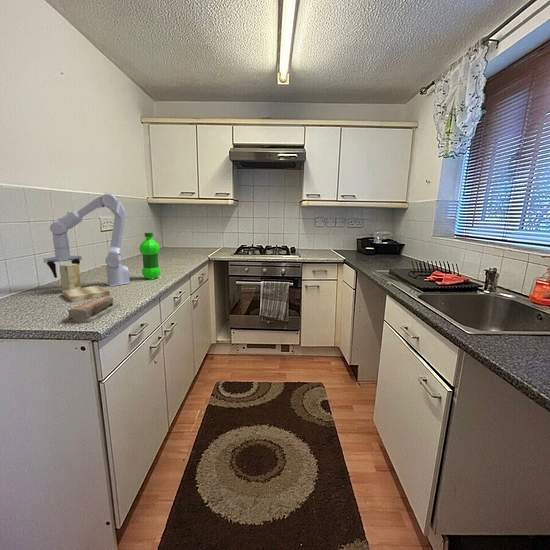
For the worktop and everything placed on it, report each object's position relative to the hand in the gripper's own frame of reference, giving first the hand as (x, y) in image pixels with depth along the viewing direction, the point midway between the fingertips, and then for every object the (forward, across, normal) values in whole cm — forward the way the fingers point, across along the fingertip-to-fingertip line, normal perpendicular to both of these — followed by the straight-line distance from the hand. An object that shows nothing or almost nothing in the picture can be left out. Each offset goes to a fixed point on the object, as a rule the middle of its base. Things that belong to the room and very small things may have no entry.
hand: (65, 276), depth 140 cm
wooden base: (+5, -2, +22) cm, 23 cm away
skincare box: (+6, 0, +9) cm, 10 cm away
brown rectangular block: (+6, +3, +50) cm, 50 cm away
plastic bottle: (+6, -38, +8) cm, 39 cm away
